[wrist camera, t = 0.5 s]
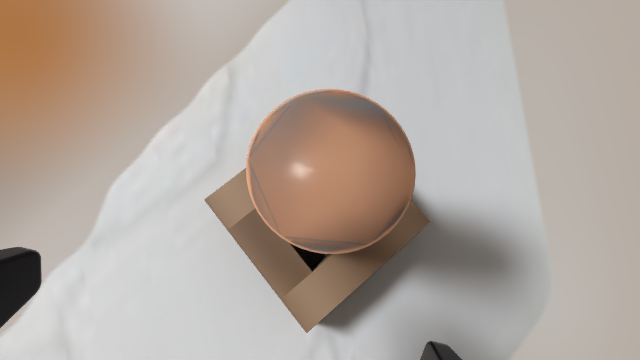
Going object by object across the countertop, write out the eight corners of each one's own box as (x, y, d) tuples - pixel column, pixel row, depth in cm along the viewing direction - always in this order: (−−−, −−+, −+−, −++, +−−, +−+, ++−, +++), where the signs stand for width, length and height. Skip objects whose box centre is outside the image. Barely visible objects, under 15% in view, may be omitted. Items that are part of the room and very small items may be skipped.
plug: (312, 263, 22) (320, 292, 8) (270, 210, 22) (211, 154, 9) (362, 219, 22) (449, 178, 9) (320, 170, 23) (341, 60, 9)
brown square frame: (306, 320, 21) (306, 333, 18) (217, 205, 22) (204, 199, 19) (414, 224, 22) (430, 221, 20) (325, 123, 24) (328, 105, 21)
